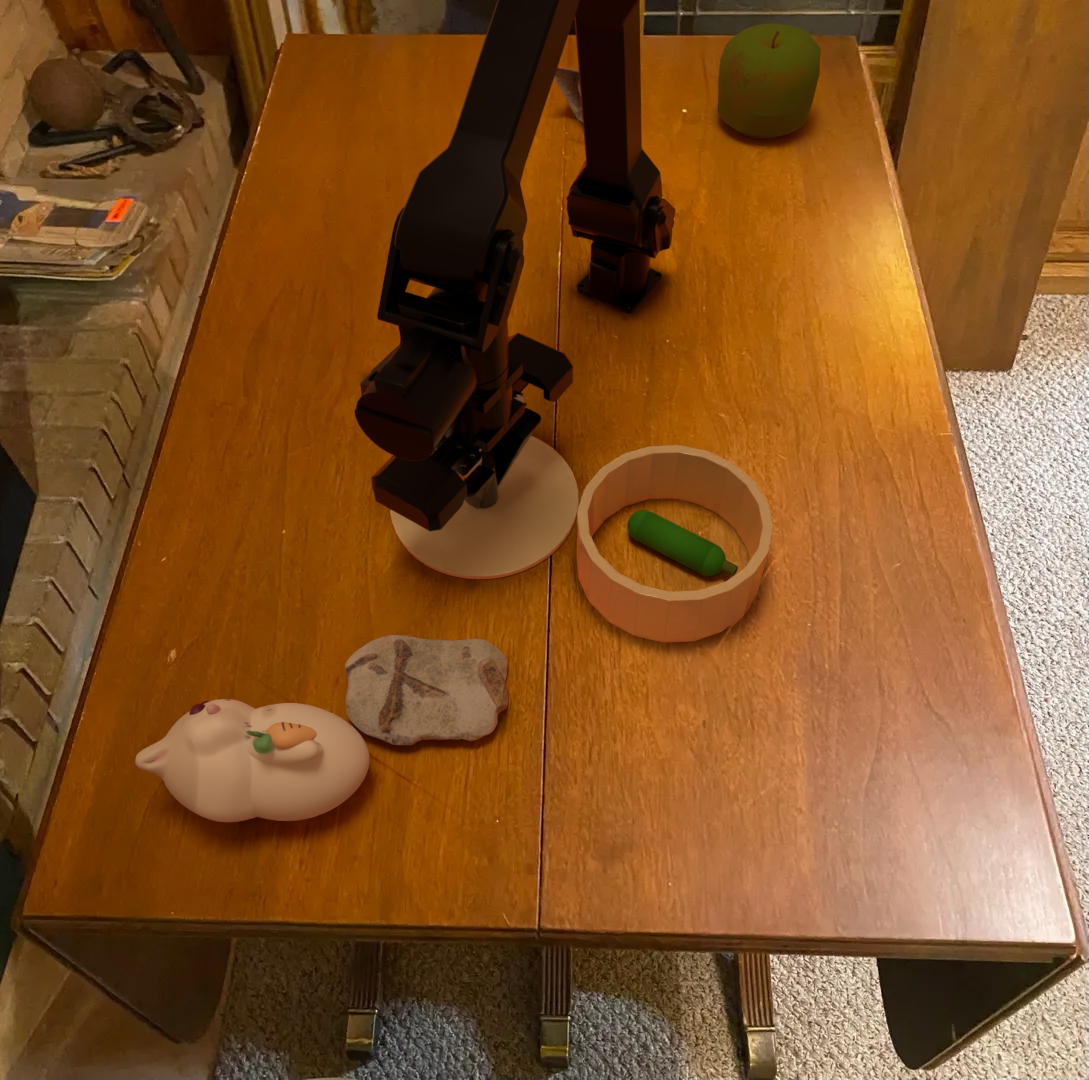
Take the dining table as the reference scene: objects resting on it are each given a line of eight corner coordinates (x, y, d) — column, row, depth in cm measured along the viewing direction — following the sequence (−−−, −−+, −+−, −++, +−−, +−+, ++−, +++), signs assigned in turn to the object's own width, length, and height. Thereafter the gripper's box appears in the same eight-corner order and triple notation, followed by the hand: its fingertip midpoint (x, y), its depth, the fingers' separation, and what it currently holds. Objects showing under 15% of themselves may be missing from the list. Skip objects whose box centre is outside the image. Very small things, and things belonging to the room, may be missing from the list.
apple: (786, 89, 122) (803, -3, 113) (824, 140, 116) (845, 46, 107) (698, 105, 121) (709, 13, 112) (732, 157, 114) (746, 64, 106)
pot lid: (465, 410, 93) (460, 365, 88) (613, 484, 87) (616, 440, 83) (352, 527, 85) (340, 485, 81) (507, 616, 80) (504, 576, 75)
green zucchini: (618, 531, 82) (632, 502, 81) (626, 534, 84) (640, 506, 84) (724, 587, 79) (740, 557, 78) (730, 587, 81) (745, 558, 81)
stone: (343, 758, 73) (335, 738, 70) (351, 647, 78) (343, 625, 76) (510, 750, 73) (508, 730, 71) (507, 639, 78) (505, 617, 76)
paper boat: (658, 108, 118) (632, 130, 111) (623, 149, 122) (596, 172, 116) (583, 31, 116) (553, 48, 110) (551, 74, 121) (519, 94, 114)
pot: (636, 470, 88) (640, 418, 83) (790, 545, 83) (805, 495, 78) (542, 588, 81) (540, 541, 76) (703, 678, 76) (714, 634, 71)
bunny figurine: (366, 707, 65) (122, 704, 63) (361, 836, 64) (115, 836, 63) (375, 696, 74) (163, 693, 73) (371, 808, 74) (157, 807, 72)
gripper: (457, 247, 79) (472, 388, 92) (295, 393, 71) (337, 527, 83) (577, 299, 76) (575, 438, 88) (423, 460, 67) (446, 590, 79)
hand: (484, 494), depth 85 cm, fingers closed on pot lid, 2 cm apart
